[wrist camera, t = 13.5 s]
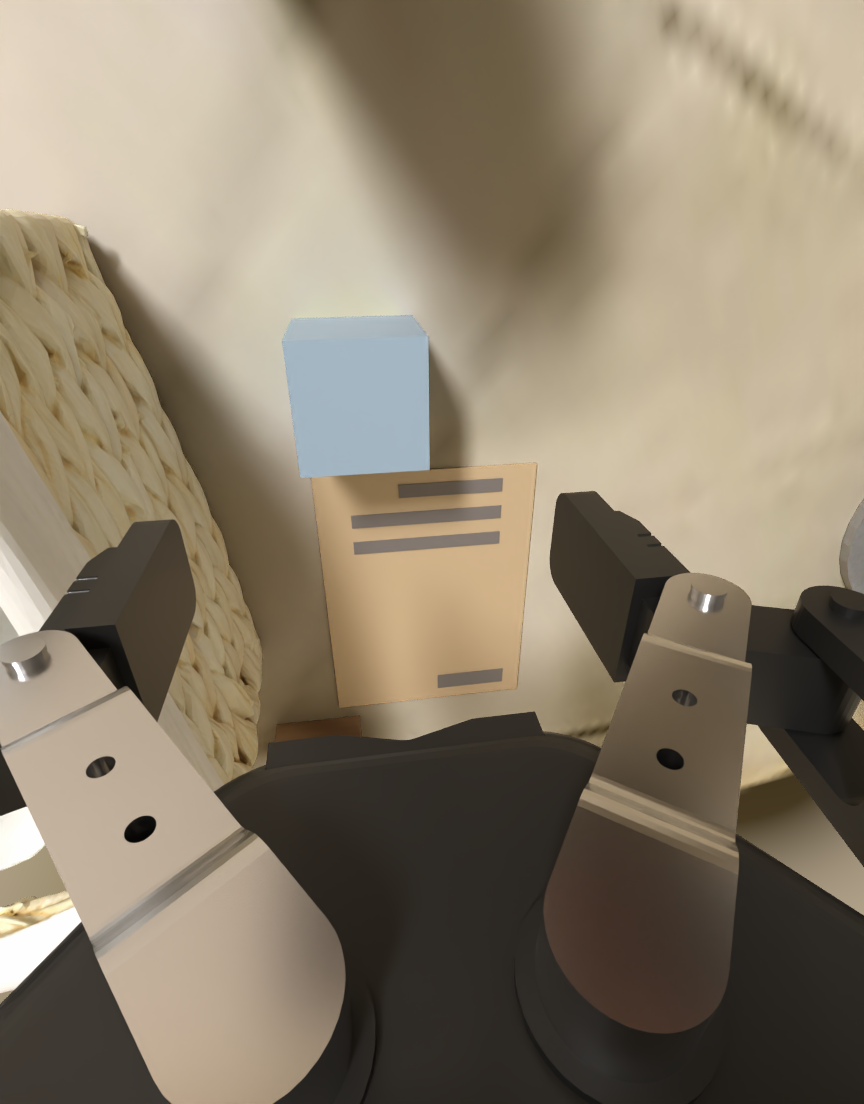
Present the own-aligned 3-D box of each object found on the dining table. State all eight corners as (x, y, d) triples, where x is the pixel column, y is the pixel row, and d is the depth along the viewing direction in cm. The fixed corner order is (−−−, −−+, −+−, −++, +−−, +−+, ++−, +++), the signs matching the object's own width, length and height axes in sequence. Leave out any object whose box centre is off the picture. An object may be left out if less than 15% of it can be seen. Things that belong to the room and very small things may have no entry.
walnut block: (359, 714, 36) (362, 782, 31) (366, 788, 39) (370, 858, 35) (276, 723, 35) (268, 793, 31) (291, 797, 39) (285, 870, 34)
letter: (536, 462, 28) (537, 463, 28) (516, 687, 36) (516, 689, 36) (311, 476, 27) (310, 478, 27) (339, 706, 35) (339, 708, 35)
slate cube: (412, 314, 24) (428, 336, 20) (414, 429, 27) (429, 469, 23) (291, 318, 24) (281, 341, 19) (306, 435, 26) (300, 478, 22)
